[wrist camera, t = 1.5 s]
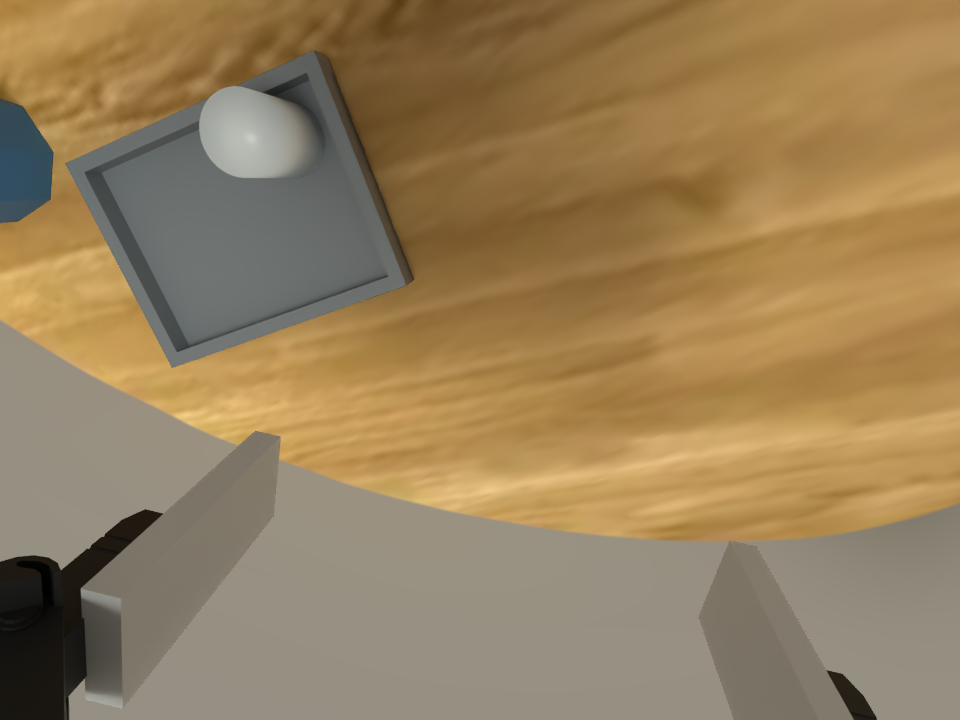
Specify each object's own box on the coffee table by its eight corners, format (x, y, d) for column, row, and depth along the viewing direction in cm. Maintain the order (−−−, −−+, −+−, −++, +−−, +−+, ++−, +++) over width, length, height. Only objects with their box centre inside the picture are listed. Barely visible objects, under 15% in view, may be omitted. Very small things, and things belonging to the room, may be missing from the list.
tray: (91, 164, 43) (65, 163, 41) (327, 58, 39) (313, 50, 37) (190, 358, 47) (172, 367, 45) (413, 279, 43) (406, 285, 41)
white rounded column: (243, 118, 40) (184, 105, 33) (306, 90, 39) (258, 72, 32) (274, 188, 41) (223, 190, 35) (336, 163, 40) (295, 159, 34)
